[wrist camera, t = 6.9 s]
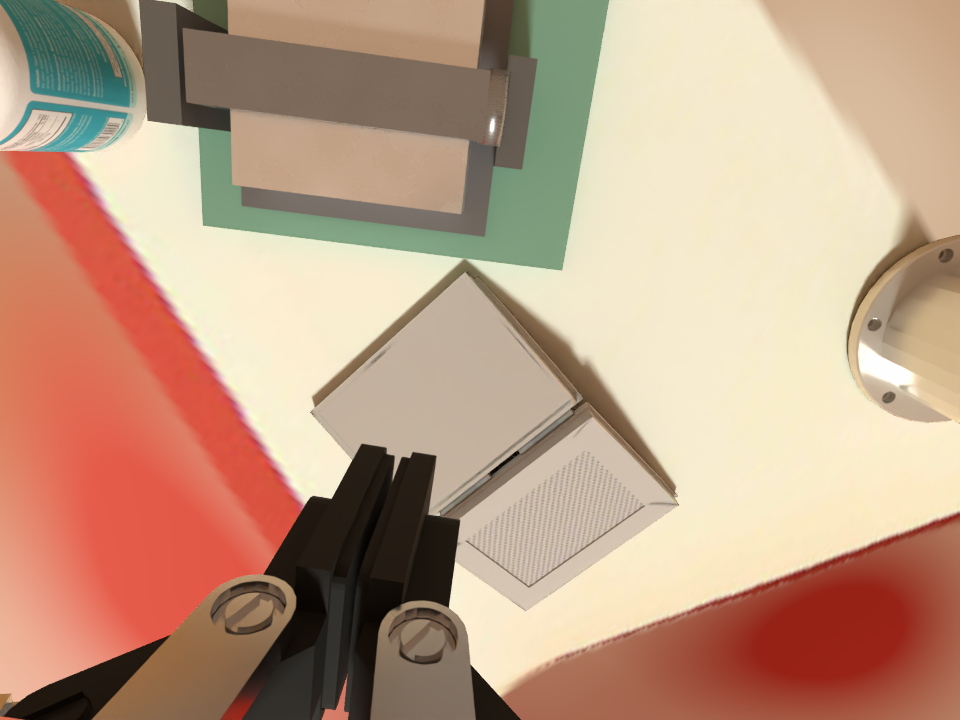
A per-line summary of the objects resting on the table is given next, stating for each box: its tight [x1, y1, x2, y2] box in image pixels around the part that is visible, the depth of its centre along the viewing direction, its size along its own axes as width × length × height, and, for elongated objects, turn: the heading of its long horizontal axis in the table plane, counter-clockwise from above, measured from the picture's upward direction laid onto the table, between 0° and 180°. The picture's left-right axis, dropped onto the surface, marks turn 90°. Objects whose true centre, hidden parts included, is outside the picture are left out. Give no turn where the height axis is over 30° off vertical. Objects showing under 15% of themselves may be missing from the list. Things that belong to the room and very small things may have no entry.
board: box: [139, 0, 609, 270], centre depth 29 cm, size 22×16×7 cm
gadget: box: [310, 272, 679, 611], centre depth 39 cm, size 23×15×4 cm, turn 42°
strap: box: [183, 28, 511, 147], centre depth 26 cm, size 15×3×3 cm, turn 83°
